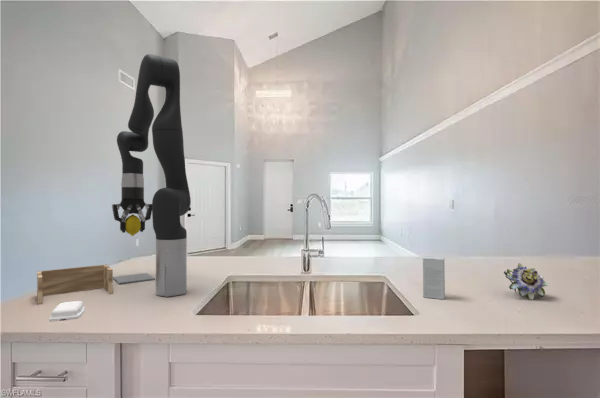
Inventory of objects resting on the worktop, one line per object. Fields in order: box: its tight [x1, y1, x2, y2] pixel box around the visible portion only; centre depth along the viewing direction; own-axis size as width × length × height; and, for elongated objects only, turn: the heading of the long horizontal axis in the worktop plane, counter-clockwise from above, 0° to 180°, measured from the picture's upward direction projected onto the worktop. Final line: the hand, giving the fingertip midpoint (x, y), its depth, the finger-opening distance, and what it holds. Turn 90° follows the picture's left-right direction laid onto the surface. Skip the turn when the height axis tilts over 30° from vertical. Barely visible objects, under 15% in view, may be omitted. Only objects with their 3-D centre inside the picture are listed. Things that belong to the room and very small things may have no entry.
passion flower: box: [503, 262, 550, 301], centre depth 111 cm, size 11×11×12 cm
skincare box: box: [422, 255, 446, 300], centre depth 110 cm, size 6×4×12 cm
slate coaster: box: [113, 272, 156, 285], centre depth 134 cm, size 12×12×1 cm
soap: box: [48, 300, 86, 322], centre depth 93 cm, size 9×7×3 cm
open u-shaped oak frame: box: [36, 264, 114, 305], centre depth 112 cm, size 11×19×8 cm, turn 127°
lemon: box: [125, 213, 141, 237], centre depth 133 cm, size 6×6×8 cm
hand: (132, 231), depth 133 cm, fingers closed on lemon, 5 cm apart
